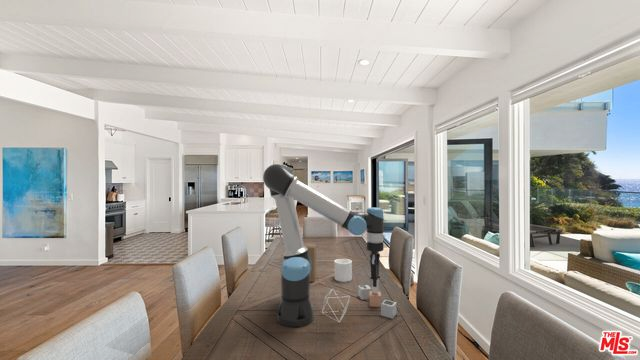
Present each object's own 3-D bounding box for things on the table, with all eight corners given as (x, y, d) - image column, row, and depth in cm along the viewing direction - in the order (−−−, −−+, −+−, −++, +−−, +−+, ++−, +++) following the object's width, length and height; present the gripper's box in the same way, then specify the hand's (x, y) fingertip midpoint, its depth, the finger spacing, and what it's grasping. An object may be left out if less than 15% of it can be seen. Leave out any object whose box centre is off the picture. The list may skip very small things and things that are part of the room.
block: (316, 276, 164) (316, 242, 164) (314, 282, 154) (314, 246, 154) (299, 276, 165) (299, 242, 165) (296, 282, 155) (296, 246, 155)
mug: (353, 281, 155) (353, 263, 155) (335, 282, 155) (335, 263, 155) (349, 274, 168) (349, 257, 168) (333, 274, 167) (333, 257, 167)
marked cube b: (371, 299, 133) (371, 288, 133) (361, 300, 132) (361, 288, 132) (367, 295, 138) (367, 284, 138) (358, 295, 137) (358, 284, 137)
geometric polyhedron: (317, 318, 114) (317, 296, 114) (326, 307, 124) (326, 287, 124) (346, 324, 110) (346, 301, 110) (353, 312, 120) (353, 291, 120)
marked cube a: (392, 318, 114) (392, 306, 114) (380, 315, 117) (380, 303, 117) (396, 314, 118) (396, 301, 118) (385, 311, 121) (385, 298, 121)
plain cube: (380, 307, 124) (380, 296, 124) (369, 306, 125) (369, 295, 125) (380, 302, 129) (380, 291, 129) (369, 301, 130) (369, 291, 130)
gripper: (381, 245, 120) (381, 299, 120) (385, 239, 132) (385, 288, 132) (364, 243, 122) (364, 297, 122) (369, 238, 135) (369, 286, 135)
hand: (375, 292), depth 127 cm, fingers closed
